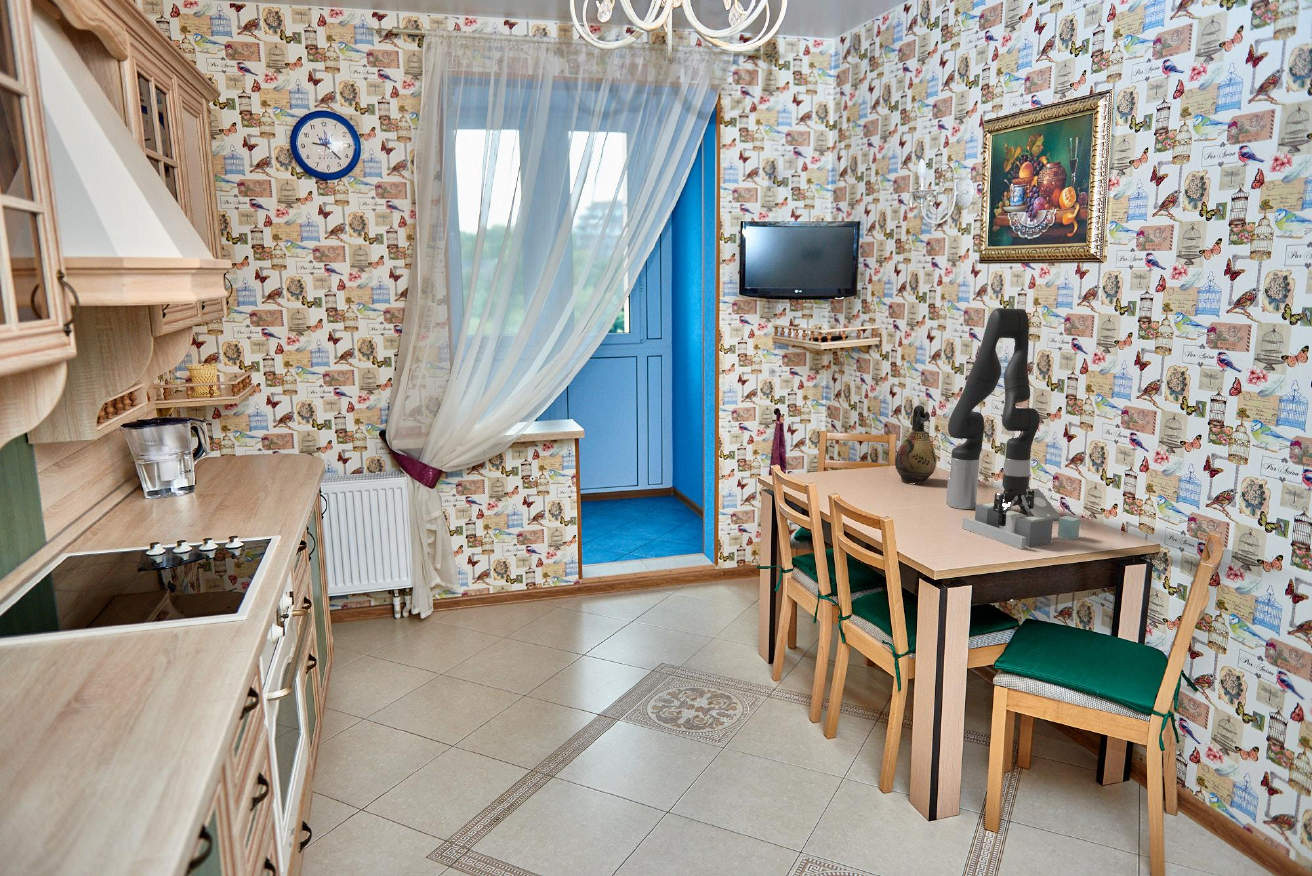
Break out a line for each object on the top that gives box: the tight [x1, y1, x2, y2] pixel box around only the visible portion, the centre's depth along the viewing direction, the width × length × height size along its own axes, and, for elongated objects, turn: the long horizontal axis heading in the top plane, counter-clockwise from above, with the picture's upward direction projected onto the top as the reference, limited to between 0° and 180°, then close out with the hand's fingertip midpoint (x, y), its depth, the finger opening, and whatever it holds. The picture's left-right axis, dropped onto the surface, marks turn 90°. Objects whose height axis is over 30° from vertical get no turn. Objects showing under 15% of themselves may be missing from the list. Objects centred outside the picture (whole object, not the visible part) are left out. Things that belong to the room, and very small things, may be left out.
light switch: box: [1029, 488, 1062, 521], centre depth 296 cm, size 8×6×14 cm
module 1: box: [999, 510, 1028, 534], centre depth 272 cm, size 6×4×7 cm
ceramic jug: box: [894, 404, 937, 485], centre depth 343 cm, size 17×15×30 cm
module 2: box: [1057, 515, 1081, 541], centre depth 270 cm, size 4×4×6 cm
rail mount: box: [961, 502, 1054, 550], centre depth 271 cm, size 24×13×8 cm, turn 24°
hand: (1012, 524), depth 271 cm, fingers open, 8 cm apart
